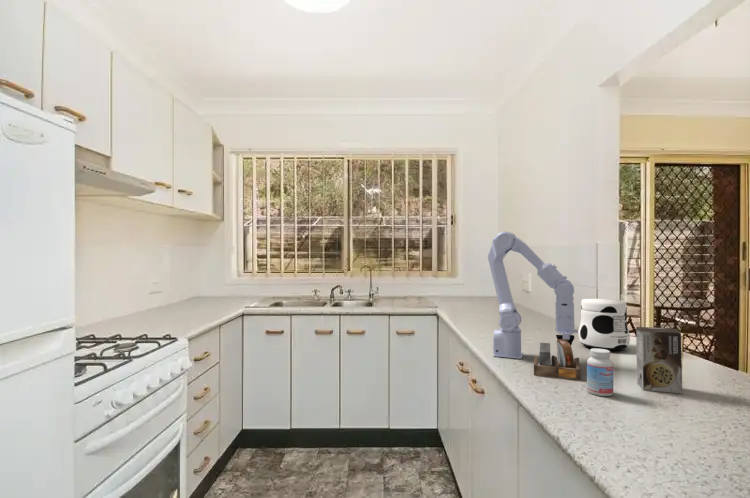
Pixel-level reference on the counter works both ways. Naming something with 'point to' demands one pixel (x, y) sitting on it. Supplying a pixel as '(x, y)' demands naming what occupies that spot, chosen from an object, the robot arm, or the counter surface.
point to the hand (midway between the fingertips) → (565, 356)
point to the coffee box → (659, 359)
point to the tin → (565, 353)
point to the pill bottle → (600, 373)
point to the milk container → (604, 324)
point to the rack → (554, 365)
